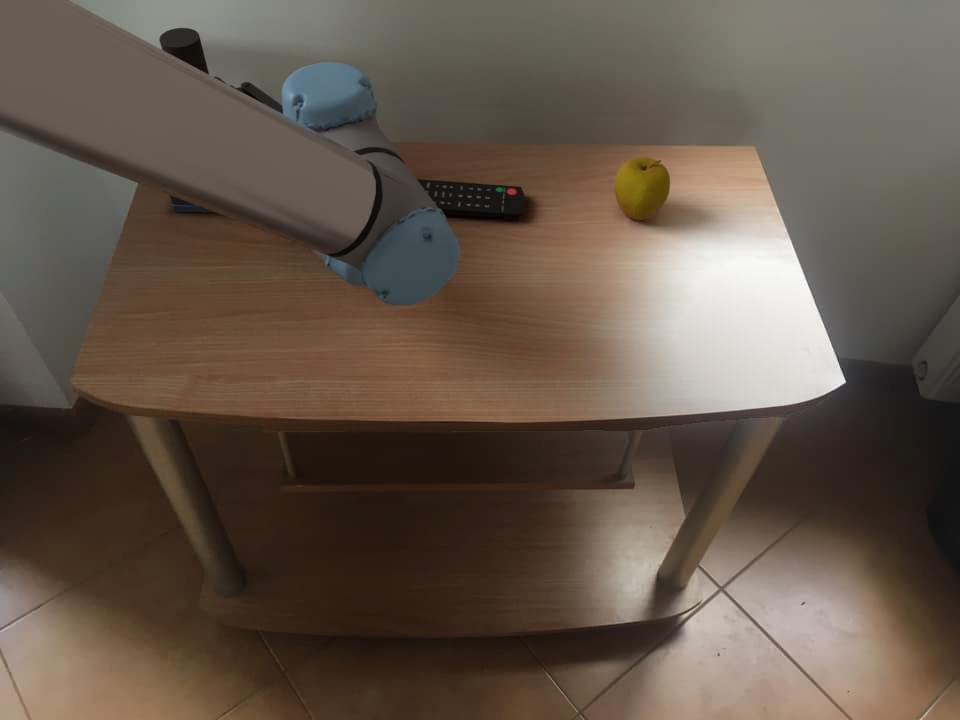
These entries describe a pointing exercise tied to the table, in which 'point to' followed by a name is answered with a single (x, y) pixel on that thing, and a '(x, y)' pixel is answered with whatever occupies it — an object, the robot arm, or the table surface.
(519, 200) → the remote control
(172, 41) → the tall dark cylinder
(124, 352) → the table surface
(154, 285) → the table surface
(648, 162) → the apple
